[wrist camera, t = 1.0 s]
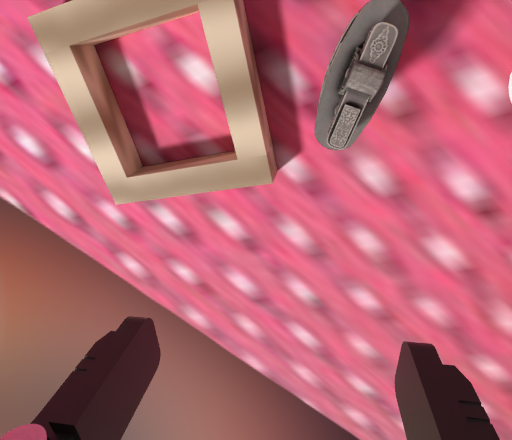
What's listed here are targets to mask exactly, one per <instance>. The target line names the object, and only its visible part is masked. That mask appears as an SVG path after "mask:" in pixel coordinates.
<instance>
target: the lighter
mask: <svg viewBox="0 0 512 440" xmlns="http://www.w3.org/2000/svg"><path fill="white" fill-rule="evenodd" d="M409 20H410V17H409V14H408V10H407V8H406V7H405V6H404V4H403V3H402V2H401V1H399V0H371V1H370V2H368V3H367V4H366V5H365V6H364V7H363V8H362V9H361V10H360V12H359V13H357V14H356V15H355V16H354V17H353V18H352V20H351V21H350V23H349V25H348V26H347V28H346V30H345V32H344V33H343V35H342V37H341V39H340V40H339V42H338V44H337V47H336V49H335V51H334V53H333V56H332V58H331V60H330V62H329V65H328V68H327V71H326V74H325V78H324V81H323V84H322V88H321V93H320V99H319V104H318V112H317V118H316V123H315V136H316V138H317V141H318V142H319V143H320V144H321V145H322V146H324V147H326V148H328V149H331V150H343V149H345V148H348V147H350V146H351V145H352V144H353V143H354V142H355V141H356V139H357V138H358V136H359V135H360V134H361V132H362V131H363V129H364V128H365V127H366V125H367V124H368V122H369V121H370V120H371V118H372V116H373V114H374V113H375V111H376V109H377V107H378V105H379V104H380V102H381V100H382V98H383V97H384V95H385V93H386V91H387V88H388V86H389V84H390V81H391V79H392V76H393V74H394V71H395V69H396V67H397V64H398V62H399V59H400V55H401V52H402V48H403V45H404V42H405V38H406V35H407V31H408V28H409Z"/></svg>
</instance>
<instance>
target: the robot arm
mask: <svg viewBox="0 0 512 440" xmlns="http://www.w3.org/2000/svg"><path fill="white" fill-rule="evenodd" d="M159 361H160V348H159V343H158V339H157V335H156V331H155V326H154V322H153V320H152V319H151V318H142V317H131V316H130V317H127V318H126V319H125V320H124V321H123V323H122V324H121V325H120V327H119V328H118V329H117V330H116V331H110V332H109V333H108V334H106V335H105V336H104V337H103V338H101V339H100V340H98V341H97V342H96V343H95V344H94V345H93V347H92V348H91V349H90V350H89V352H88V353H87V354H86V355H85V358H84V359H82V361H81V362H80V363H79V364H78V365H77V367H76V368H75V371H73V372H72V373H71V374H70V375H69V377H68V378H67V379H66V380H65V382H64V383H63V384H62V385H61V387H60V388H59V389H58V391H57V392H56V393H55V394H54V396H53V397H52V398H51V399H50V401H49V402H48V403H47V404H46V406H45V407H44V408H43V410H42V411H41V412H40V413H39V414H38V416H37V417H36V418H35V419H34V420H33V421H32V422H31V423H30V424H26V425H23V426H20V427H17V428H15V429H13V430H11V431H9V432H8V433H6V434H5V435H3V436H2V437H1V438H0V440H121V438H122V436H123V434H124V432H125V430H126V428H127V426H128V424H129V422H130V420H131V419H132V417H133V415H134V413H135V411H136V409H137V407H138V405H139V403H140V401H141V399H142V397H143V395H144V393H145V392H146V390H147V388H148V386H149V384H150V382H151V380H152V378H153V376H154V374H155V372H156V370H157V368H158V365H159ZM395 392H396V398H397V402H398V406H399V410H400V414H401V418H402V422H403V425H404V429H405V433H406V437H407V440H500V439H499V437H498V435H497V433H496V431H495V429H494V427H493V425H492V424H490V419H489V417H488V415H487V413H486V412H485V410H484V408H483V407H482V406H481V402H480V400H479V398H478V396H477V394H476V392H475V390H474V388H473V386H472V384H471V383H470V381H469V380H468V379H467V378H466V377H465V376H464V375H463V374H462V373H461V372H460V371H459V370H458V369H457V368H456V367H455V366H453V365H443V364H442V362H441V360H440V358H439V355H438V353H437V351H436V349H435V347H434V346H433V345H432V344H427V343H415V342H403V344H402V347H401V352H400V356H399V361H398V366H397V370H396V375H395Z"/></svg>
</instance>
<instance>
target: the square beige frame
mask: <svg viewBox="0 0 512 440" xmlns="http://www.w3.org/2000/svg"><path fill="white" fill-rule="evenodd" d="M198 12H200V16H201V20H202V24H203V28H204V32H205V35H206V39H207V43H208V47H209V51H210V55H211V59H212V62H213V66H214V70H215V74H216V78H217V82H218V86H219V90H220V93H221V97H222V101H223V105H224V109H225V113H226V117H227V120H228V124H229V128H230V132H231V136H232V140H233V144H234V148H235V151H231V152H226V153H220V154H214V155H208V156H202V157H196V158H191V159H185V160H179V161H173V162H167V163H162V164H156V165H150V166H144V167H143V165H142V163H141V160H140V158H139V155H138V153H137V150H136V148H135V145H134V143H133V140H132V138H131V135H130V133H129V131H128V128H127V126H126V123H125V121H124V118H123V116H122V113H121V111H120V108H119V106H118V103H117V101H116V98H115V96H114V94H113V91H112V89H111V86H110V84H109V81H108V79H107V76H106V74H105V71H104V69H103V66H102V64H101V61H100V59H99V57H98V54H97V52H96V49H95V47H94V45H96V44H100V43H103V42H106V41H109V40H112V39H115V38H119V37H122V36H125V35H128V34H131V33H134V32H138V31H141V30H144V29H147V28H150V27H153V26H156V25H160V24H163V23H166V22H169V21H172V20H175V19H179V18H182V17H185V16H188V15H191V14H194V13H198ZM27 18H28V20H29V22H30V25H31V27H32V29H33V31H34V33H35V35H36V37H37V39H38V41H39V44H40V46H41V48H42V50H43V52H44V54H45V56H46V58H47V60H48V62H49V65H50V67H51V69H52V71H53V73H54V75H55V77H56V79H57V81H58V84H59V86H60V88H61V90H62V92H63V94H64V96H65V98H66V100H67V103H68V105H69V107H70V109H71V111H72V113H73V115H74V117H75V119H76V122H77V124H78V126H79V128H80V130H81V132H82V134H83V136H84V138H85V141H86V143H87V145H88V147H89V149H90V151H91V153H92V155H93V157H94V160H95V162H96V164H97V166H98V168H99V170H100V172H101V174H102V176H103V178H104V181H105V183H106V185H107V187H108V189H109V191H110V193H111V195H112V197H113V200H114V202H115V204H124V203H131V202H139V201H146V200H153V199H161V198H168V197H175V196H183V195H190V194H197V193H205V192H212V191H219V190H227V189H234V188H241V187H249V186H256V185H264V184H271V183H273V181H274V179H275V176H276V173H277V171H278V170H277V165H276V160H275V156H274V151H273V146H272V141H271V136H270V131H269V126H268V121H267V116H266V111H265V106H264V101H263V96H262V91H261V86H260V81H259V76H258V71H257V66H256V61H255V56H254V51H253V46H252V42H251V37H250V32H249V27H248V22H247V17H246V12H245V7H244V2H243V0H72V1H69V2H66V3H64V4H61V5H58V6H56V7H53V8H50V9H48V10H45V11H42V12H40V13H37V14H34V15H32V16H29V17H27Z"/></svg>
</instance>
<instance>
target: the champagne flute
mask: <svg viewBox="0 0 512 440" xmlns="http://www.w3.org/2000/svg"><path fill="white" fill-rule="evenodd" d="M509 96H510V99H511V102H512V73H511V75H510V80H509Z"/></svg>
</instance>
